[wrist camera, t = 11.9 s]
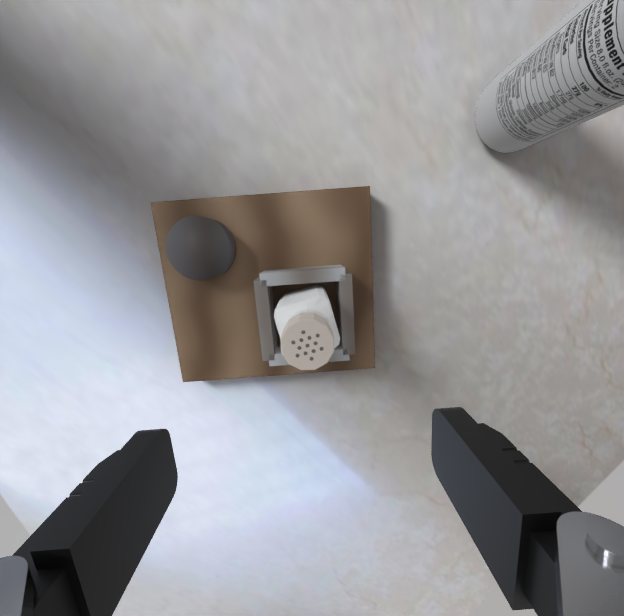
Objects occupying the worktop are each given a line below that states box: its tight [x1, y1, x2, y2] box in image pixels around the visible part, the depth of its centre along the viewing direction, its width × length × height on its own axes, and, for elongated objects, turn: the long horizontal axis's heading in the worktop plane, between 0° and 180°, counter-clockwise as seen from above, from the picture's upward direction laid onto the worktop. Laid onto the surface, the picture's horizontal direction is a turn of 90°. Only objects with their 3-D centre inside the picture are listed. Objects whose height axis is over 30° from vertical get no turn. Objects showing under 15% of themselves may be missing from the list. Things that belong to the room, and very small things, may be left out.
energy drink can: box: [475, 0, 624, 153], centre depth 18 cm, size 6×6×15 cm
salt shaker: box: [274, 285, 340, 370], centre depth 22 cm, size 4×4×10 cm
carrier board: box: [151, 186, 375, 382], centre depth 25 cm, size 18×16×5 cm
